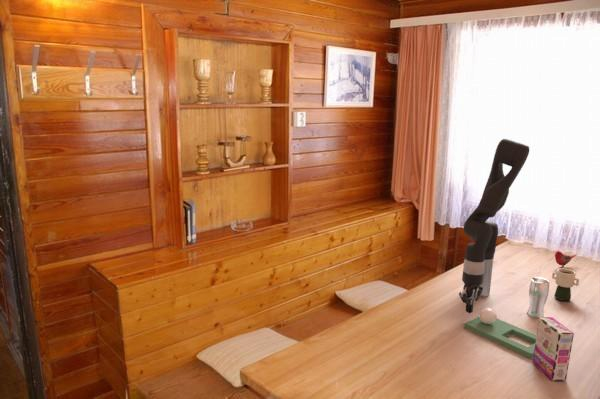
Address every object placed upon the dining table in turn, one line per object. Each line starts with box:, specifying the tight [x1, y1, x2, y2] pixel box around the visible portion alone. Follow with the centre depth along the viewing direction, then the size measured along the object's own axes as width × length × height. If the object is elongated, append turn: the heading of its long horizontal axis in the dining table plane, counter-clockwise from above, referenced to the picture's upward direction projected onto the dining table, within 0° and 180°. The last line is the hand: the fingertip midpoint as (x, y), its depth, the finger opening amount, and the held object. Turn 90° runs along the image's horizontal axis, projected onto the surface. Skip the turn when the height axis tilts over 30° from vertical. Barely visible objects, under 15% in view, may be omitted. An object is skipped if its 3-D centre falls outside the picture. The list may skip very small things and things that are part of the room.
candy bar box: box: [532, 316, 575, 382], centre depth 149 cm, size 11×5×16 cm, turn 5°
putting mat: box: [463, 316, 537, 360], centre depth 172 cm, size 26×14×2 cm, turn 37°
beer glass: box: [527, 276, 550, 319], centre depth 189 cm, size 7×7×15 cm
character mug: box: [551, 268, 580, 301], centre depth 204 cm, size 11×7×13 cm, turn 39°
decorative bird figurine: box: [554, 250, 578, 269], centre depth 242 cm, size 3×18×10 cm, turn 115°
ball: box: [478, 307, 497, 324], centre depth 177 cm, size 6×6×6 cm
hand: (468, 311), depth 184 cm, fingers closed
